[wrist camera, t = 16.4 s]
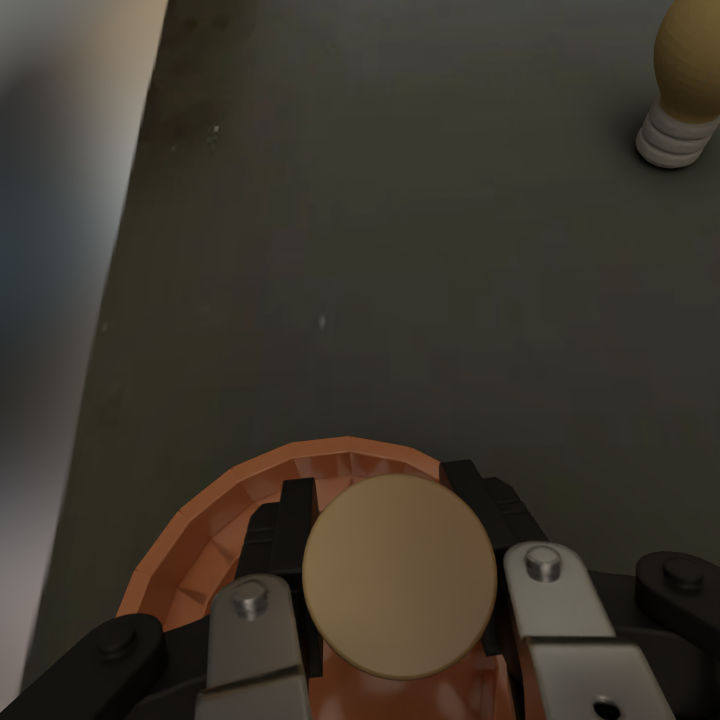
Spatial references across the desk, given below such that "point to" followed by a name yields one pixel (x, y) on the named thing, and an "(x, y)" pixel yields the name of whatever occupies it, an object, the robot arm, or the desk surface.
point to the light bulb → (684, 85)
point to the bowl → (340, 680)
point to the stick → (399, 577)
